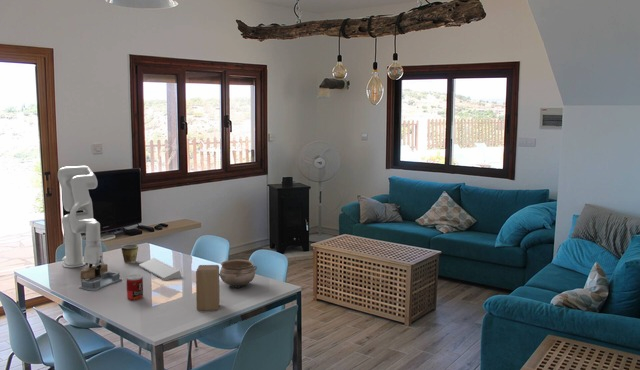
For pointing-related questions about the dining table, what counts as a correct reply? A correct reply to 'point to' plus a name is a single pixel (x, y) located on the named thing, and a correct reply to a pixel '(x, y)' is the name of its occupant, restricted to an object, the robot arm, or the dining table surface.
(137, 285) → the canned food
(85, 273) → the slat
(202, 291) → the wooden block
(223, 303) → the dining table surface
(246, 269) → the cooking pot
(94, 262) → the robot arm
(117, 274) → the board
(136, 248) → the ceramic cup
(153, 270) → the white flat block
